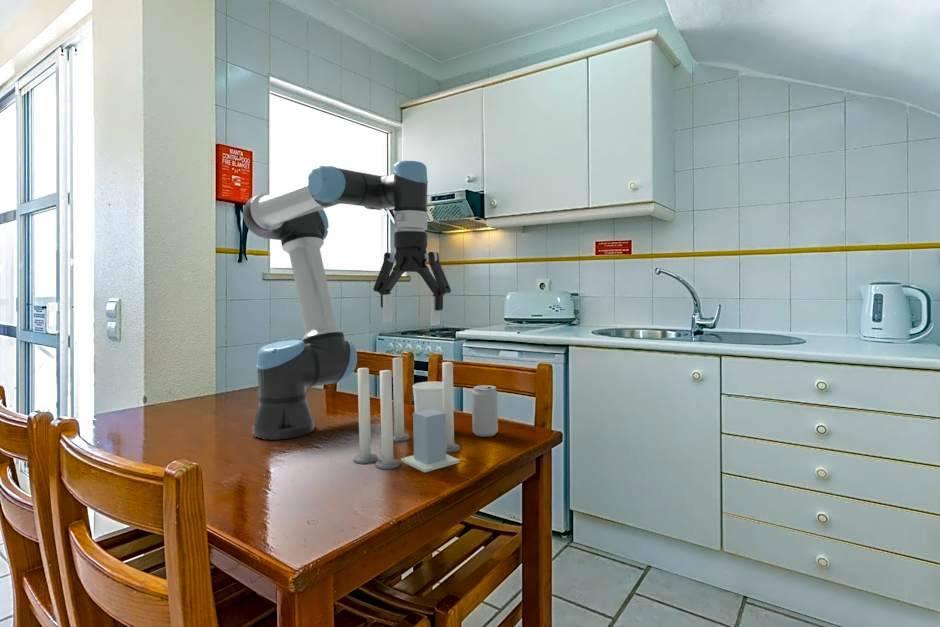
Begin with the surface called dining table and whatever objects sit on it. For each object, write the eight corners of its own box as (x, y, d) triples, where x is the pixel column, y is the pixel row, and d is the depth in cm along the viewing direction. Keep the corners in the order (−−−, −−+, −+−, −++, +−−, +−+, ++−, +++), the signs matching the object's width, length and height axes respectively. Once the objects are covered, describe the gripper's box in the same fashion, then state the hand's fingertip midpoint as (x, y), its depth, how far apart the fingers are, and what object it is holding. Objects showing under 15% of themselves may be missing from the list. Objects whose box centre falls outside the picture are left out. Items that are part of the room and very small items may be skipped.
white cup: (456, 427, 138) (456, 382, 137) (443, 437, 129) (442, 389, 128) (423, 424, 141) (422, 380, 140) (407, 434, 132) (406, 387, 131)
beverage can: (495, 438, 127) (495, 389, 127) (470, 437, 129) (469, 389, 128) (499, 430, 134) (499, 384, 133) (475, 429, 135) (474, 384, 134)
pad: (401, 461, 112) (401, 458, 112) (435, 452, 118) (435, 449, 117) (424, 472, 105) (424, 469, 105) (459, 462, 110) (459, 459, 110)
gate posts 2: (371, 464, 110) (368, 370, 109) (451, 444, 123) (449, 360, 122) (383, 471, 106) (380, 374, 105) (464, 449, 119) (462, 362, 118)
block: (413, 458, 112) (412, 412, 111) (433, 453, 115) (432, 408, 114) (427, 464, 108) (426, 417, 107) (446, 459, 111) (445, 413, 110)
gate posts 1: (349, 462, 111) (346, 370, 110) (395, 435, 131) (393, 356, 130) (369, 464, 110) (367, 371, 109) (412, 436, 130) (411, 357, 128)
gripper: (358, 231, 122) (359, 321, 124) (448, 227, 110) (447, 327, 111) (378, 234, 129) (379, 319, 130) (466, 230, 116) (465, 324, 118)
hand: (411, 323), depth 121 cm, fingers open, 13 cm apart
